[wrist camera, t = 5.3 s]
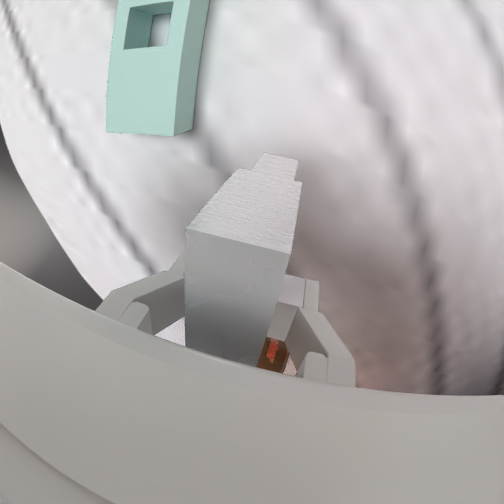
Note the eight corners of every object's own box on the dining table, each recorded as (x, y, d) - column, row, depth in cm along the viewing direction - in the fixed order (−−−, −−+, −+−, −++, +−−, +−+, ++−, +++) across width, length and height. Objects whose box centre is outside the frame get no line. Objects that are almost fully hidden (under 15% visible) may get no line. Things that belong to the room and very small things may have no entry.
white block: (259, 145, 11) (185, 228, 5) (306, 156, 11) (290, 254, 5) (235, 288, 16) (188, 405, 10) (270, 297, 16) (238, 420, 10)
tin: (234, 384, 33) (217, 443, 26) (211, 375, 33) (191, 433, 26) (297, 316, 25) (288, 398, 18) (265, 301, 24) (247, 384, 17)
